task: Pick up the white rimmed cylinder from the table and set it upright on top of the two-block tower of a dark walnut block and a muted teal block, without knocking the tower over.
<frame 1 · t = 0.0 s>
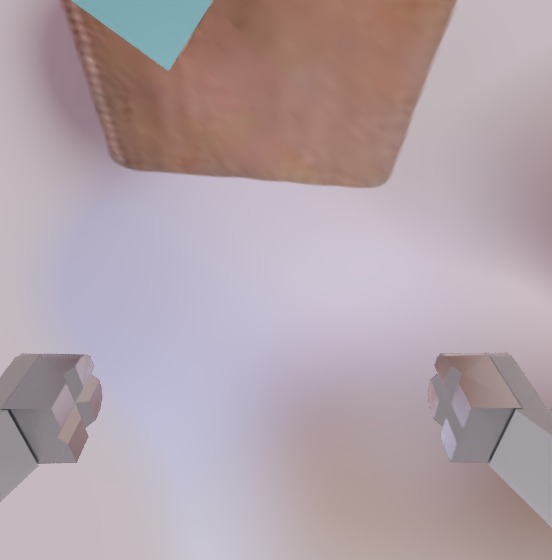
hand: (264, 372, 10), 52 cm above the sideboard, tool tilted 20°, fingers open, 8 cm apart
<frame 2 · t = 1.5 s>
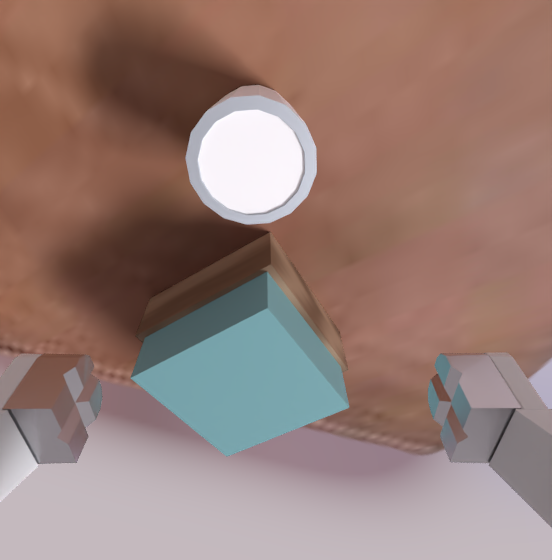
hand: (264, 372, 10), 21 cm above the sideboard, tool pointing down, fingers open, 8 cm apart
tower top block: (246, 352, 32), point 5 cm above the sideboard
tower base block: (248, 313, 36), on the sideboard
white rimmed cylinder: (254, 130, 27), on the sideboard
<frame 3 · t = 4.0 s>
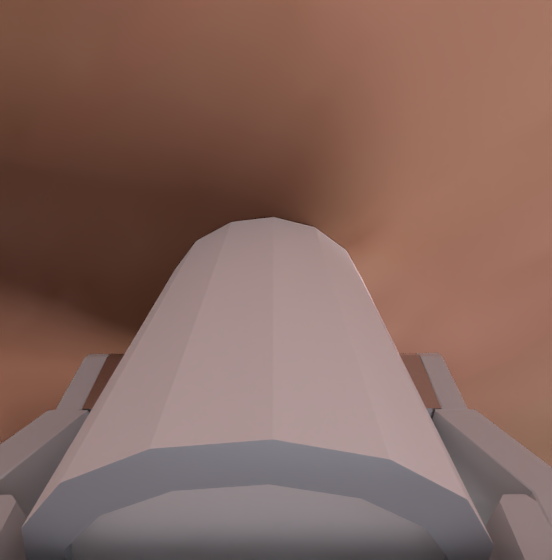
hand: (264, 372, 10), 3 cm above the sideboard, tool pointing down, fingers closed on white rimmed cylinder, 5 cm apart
white rimmed cylinder: (267, 301, 12), on the sideboard, touching gripper
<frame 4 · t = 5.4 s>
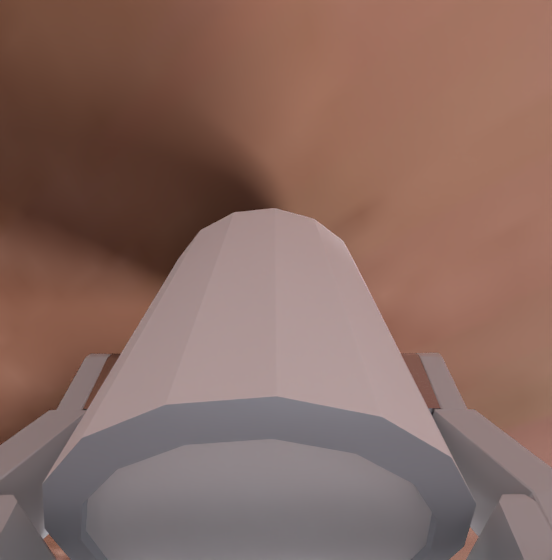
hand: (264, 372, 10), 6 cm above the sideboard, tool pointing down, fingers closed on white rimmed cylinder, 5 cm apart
white rimmed cylinder: (267, 290, 13), point 2 cm above the sideboard, touching gripper
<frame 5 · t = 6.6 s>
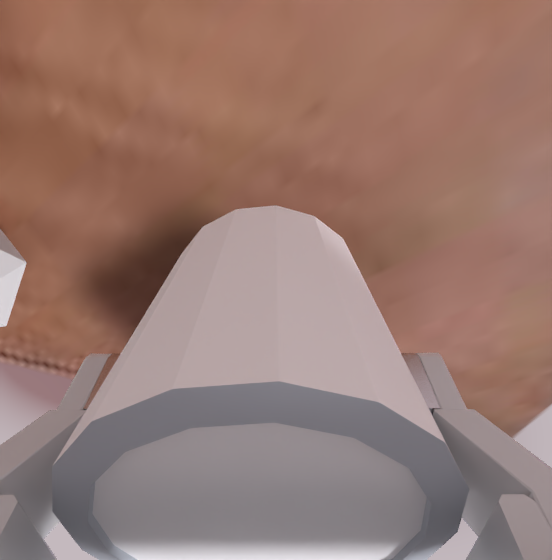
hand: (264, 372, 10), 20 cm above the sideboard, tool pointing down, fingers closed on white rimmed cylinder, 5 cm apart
white rimmed cylinder: (267, 286, 13), point 17 cm above the sideboard, touching gripper
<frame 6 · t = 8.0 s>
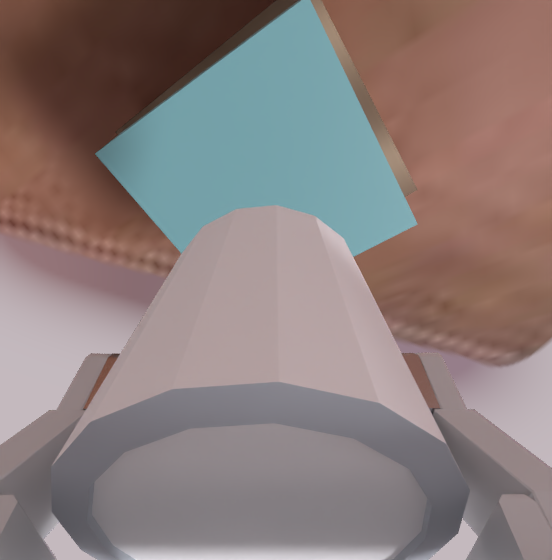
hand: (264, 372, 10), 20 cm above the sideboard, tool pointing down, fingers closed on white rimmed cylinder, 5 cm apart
tower top block: (265, 163, 23), point 5 cm above the sideboard
tower base block: (272, 138, 27), on the sideboard
white rimmed cylinder: (268, 286, 13), point 16 cm above the sideboard, touching gripper
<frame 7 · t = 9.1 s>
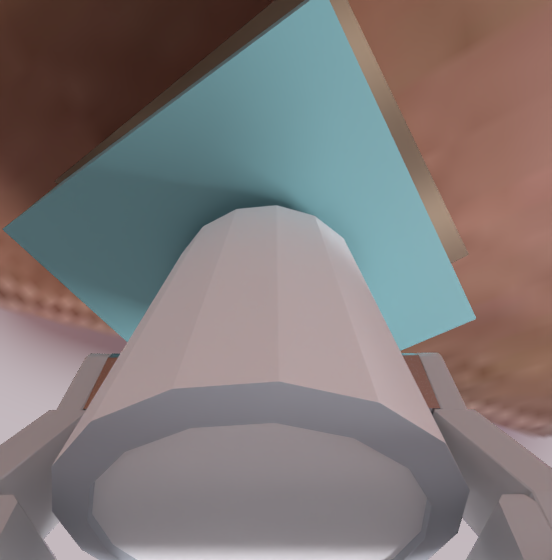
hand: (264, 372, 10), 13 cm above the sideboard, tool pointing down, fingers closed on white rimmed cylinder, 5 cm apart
tower top block: (260, 223, 17), point 5 cm above the sideboard, touching tower base block
tower base block: (273, 177, 21), on the sideboard, touching tower top block
white rimmed cylinder: (268, 286, 13), point 9 cm above the sideboard, touching gripper
when the fingers open (12 cm above the sideboard, at t = 9.6 s): white rimmed cylinder stays where it is, resting on tower top block.
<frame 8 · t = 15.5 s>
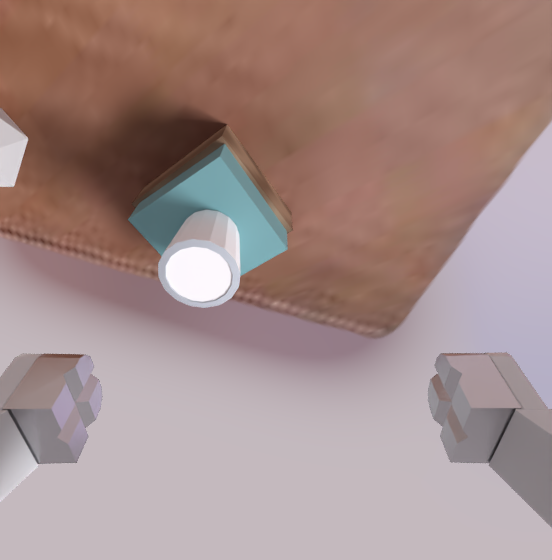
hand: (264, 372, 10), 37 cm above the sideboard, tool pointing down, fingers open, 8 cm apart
tower top block: (214, 217, 43), point 5 cm above the sideboard, touching white rimmed cylinder, tower base block
tower base block: (219, 199, 47), on the sideboard, touching tower top block
die: (0, 134, 43), on the sideboard
white rimmed cylinder: (210, 235, 40), point 8 cm above the sideboard, touching tower top block
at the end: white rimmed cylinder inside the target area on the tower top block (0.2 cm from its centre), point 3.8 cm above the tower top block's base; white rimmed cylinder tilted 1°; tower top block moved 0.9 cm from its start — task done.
